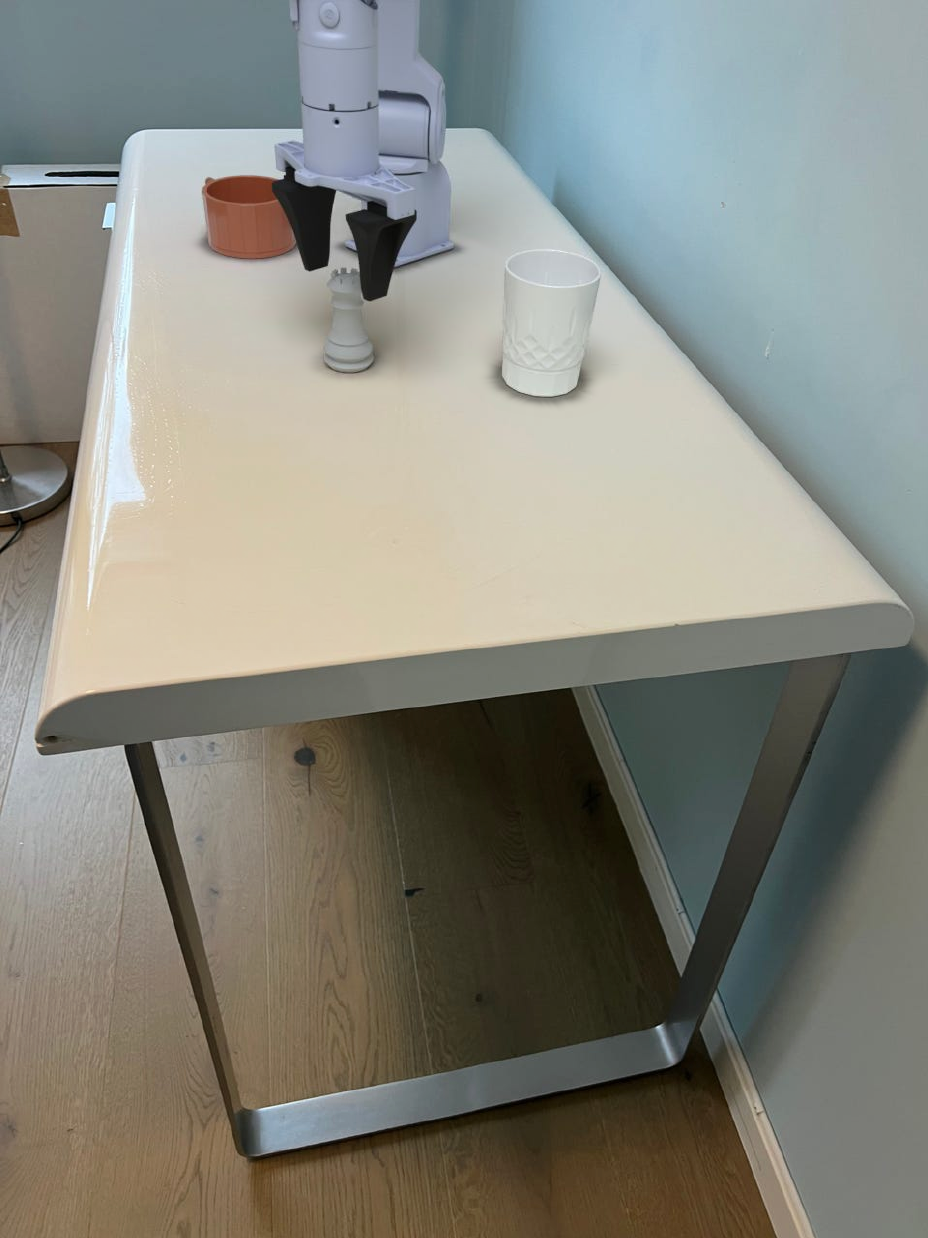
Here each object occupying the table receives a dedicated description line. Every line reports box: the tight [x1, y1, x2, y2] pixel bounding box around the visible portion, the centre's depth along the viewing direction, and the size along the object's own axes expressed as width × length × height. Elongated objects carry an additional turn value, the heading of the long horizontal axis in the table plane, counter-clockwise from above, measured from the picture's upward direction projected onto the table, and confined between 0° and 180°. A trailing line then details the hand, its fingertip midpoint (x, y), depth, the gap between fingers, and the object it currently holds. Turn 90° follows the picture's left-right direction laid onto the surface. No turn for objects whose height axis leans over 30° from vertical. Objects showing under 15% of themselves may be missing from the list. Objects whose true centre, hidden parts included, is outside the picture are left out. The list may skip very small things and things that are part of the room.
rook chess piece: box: [322, 267, 375, 374], centre depth 81 cm, size 4×4×8 cm
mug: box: [201, 174, 297, 260], centre depth 102 cm, size 12×9×6 cm
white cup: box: [501, 248, 602, 398], centre depth 80 cm, size 8×8×10 cm
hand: (345, 282), depth 79 cm, fingers open, 7 cm apart
